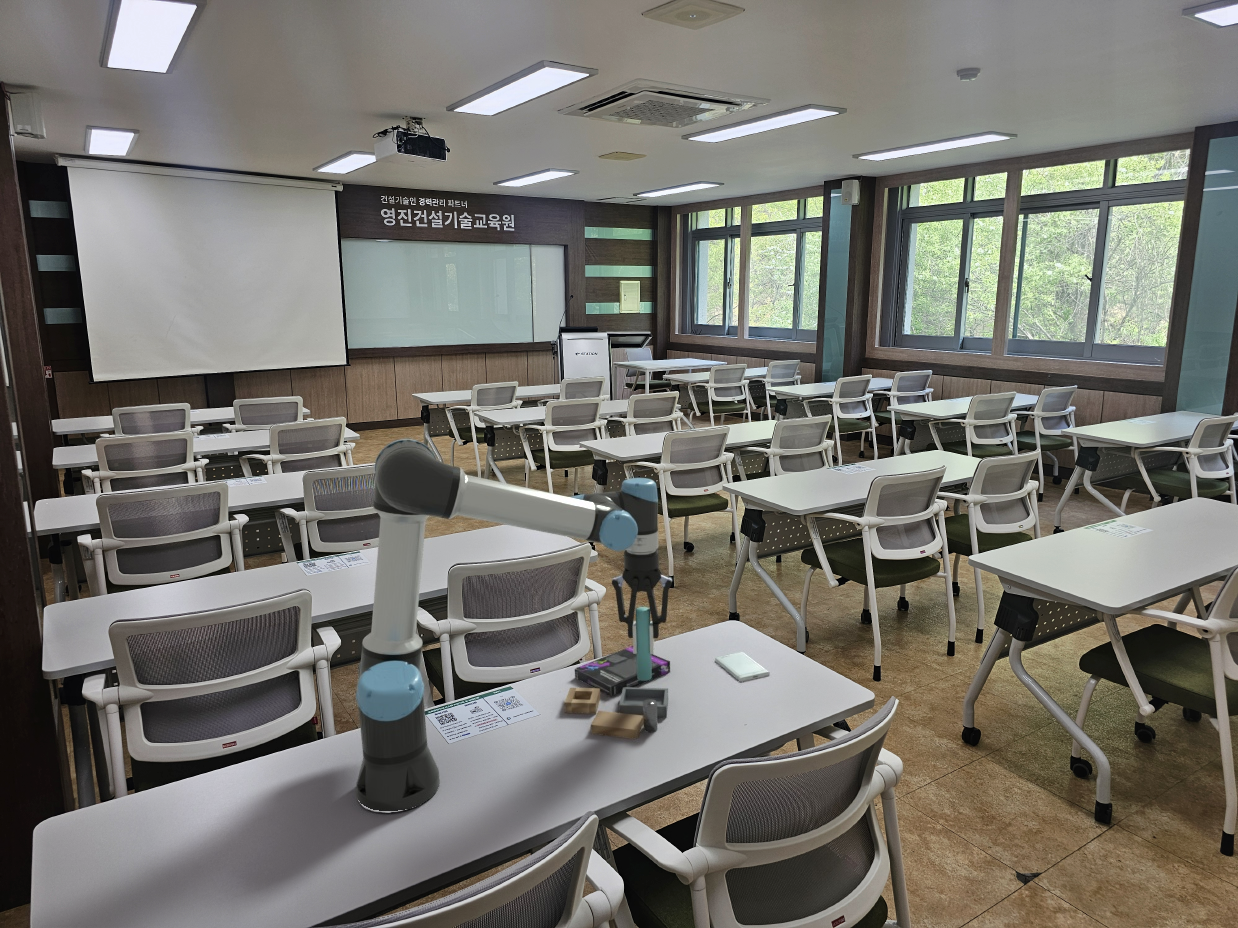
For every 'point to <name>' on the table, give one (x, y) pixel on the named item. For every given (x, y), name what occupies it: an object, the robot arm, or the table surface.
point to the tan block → (617, 724)
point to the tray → (635, 697)
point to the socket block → (582, 700)
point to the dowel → (643, 644)
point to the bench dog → (650, 715)
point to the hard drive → (741, 666)
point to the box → (618, 671)
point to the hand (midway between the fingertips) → (643, 650)
